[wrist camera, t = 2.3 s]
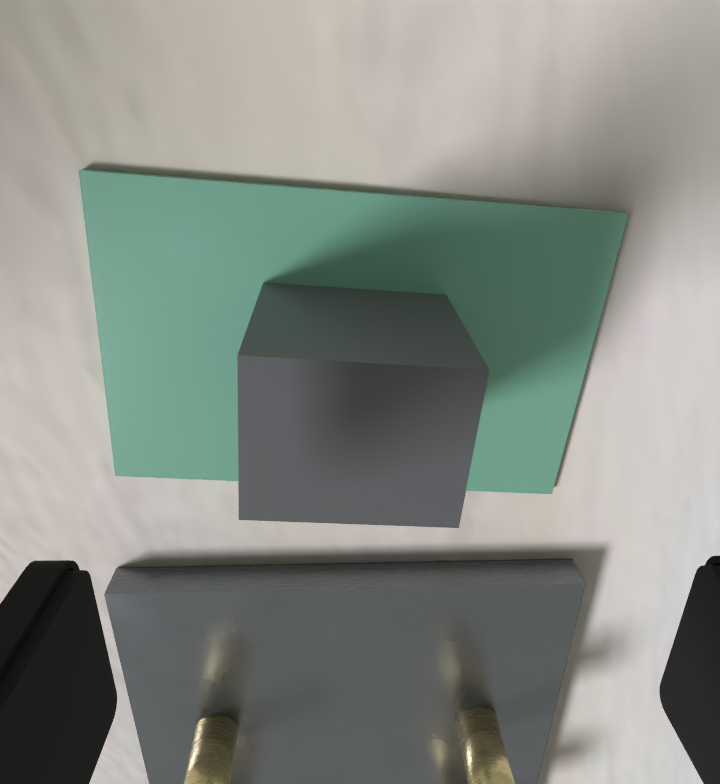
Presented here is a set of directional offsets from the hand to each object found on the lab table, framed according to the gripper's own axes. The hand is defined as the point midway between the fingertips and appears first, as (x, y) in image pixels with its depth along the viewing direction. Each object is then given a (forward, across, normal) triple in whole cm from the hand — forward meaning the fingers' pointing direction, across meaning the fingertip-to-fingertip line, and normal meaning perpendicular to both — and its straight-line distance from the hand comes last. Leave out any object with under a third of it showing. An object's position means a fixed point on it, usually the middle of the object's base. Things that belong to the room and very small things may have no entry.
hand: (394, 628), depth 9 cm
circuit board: (+10, +1, -1) cm, 10 cm away
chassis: (+10, +1, +17) cm, 20 cm away
